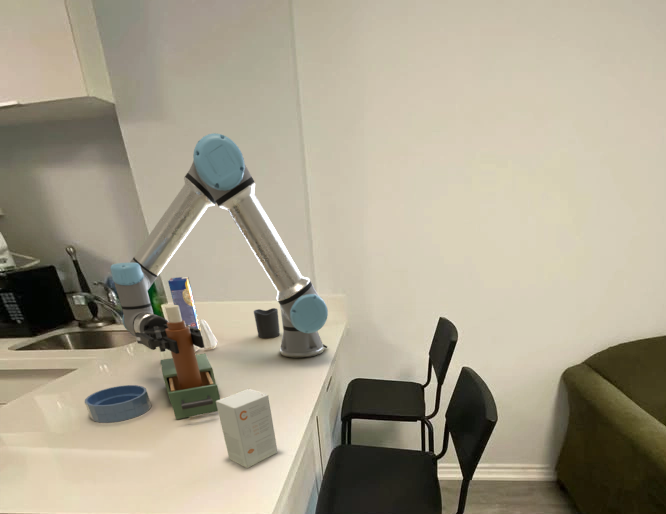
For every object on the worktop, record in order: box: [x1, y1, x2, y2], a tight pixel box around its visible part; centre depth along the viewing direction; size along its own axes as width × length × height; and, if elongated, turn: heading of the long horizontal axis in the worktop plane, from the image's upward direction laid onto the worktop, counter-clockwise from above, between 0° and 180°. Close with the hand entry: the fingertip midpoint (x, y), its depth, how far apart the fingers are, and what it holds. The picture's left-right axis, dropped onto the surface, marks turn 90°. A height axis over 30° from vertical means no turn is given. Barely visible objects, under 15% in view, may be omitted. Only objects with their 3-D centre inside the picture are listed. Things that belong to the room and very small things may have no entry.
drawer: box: [167, 371, 221, 420], centre depth 108 cm, size 18×11×7 cm, turn 24°
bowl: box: [84, 384, 152, 424], centre depth 110 cm, size 14×14×5 cm
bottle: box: [164, 304, 203, 390], centre depth 104 cm, size 5×5×20 cm
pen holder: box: [253, 307, 281, 339], centre depth 173 cm, size 9×9×10 cm
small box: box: [216, 388, 278, 469], centre depth 85 cm, size 8×6×13 cm
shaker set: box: [194, 318, 219, 352], centre depth 157 cm, size 12×4×11 cm, turn 111°
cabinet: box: [160, 352, 217, 404], centre depth 120 cm, size 15×12×8 cm
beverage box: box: [167, 276, 201, 331], centre depth 176 cm, size 7×11×22 cm, turn 15°
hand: (189, 344), depth 100 cm, fingers closed on bottle, 5 cm apart
